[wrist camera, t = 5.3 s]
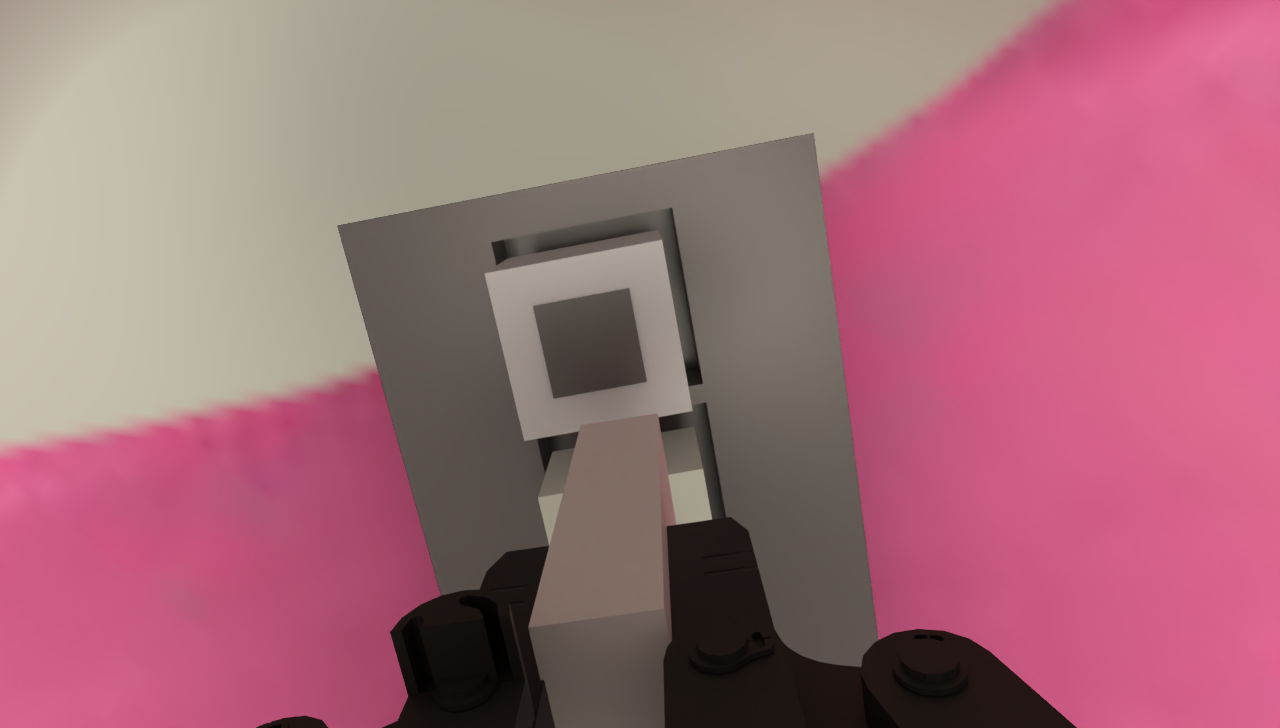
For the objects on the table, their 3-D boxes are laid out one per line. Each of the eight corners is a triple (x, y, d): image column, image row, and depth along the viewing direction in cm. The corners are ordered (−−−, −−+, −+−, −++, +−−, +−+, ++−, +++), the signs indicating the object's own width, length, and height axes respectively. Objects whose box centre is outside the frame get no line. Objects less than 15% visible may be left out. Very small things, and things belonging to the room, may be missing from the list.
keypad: (540, 861, 31) (532, 919, 29) (367, 220, 25) (337, 225, 22) (885, 808, 30) (906, 863, 28) (796, 137, 24) (814, 133, 22)
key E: (540, 402, 23) (523, 442, 20) (507, 258, 22) (483, 274, 19) (685, 376, 23) (692, 412, 19) (658, 229, 22) (662, 240, 18)
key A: (581, 578, 24) (572, 644, 21) (552, 451, 23) (537, 499, 20) (717, 556, 24) (729, 618, 21) (694, 426, 23) (703, 470, 20)
